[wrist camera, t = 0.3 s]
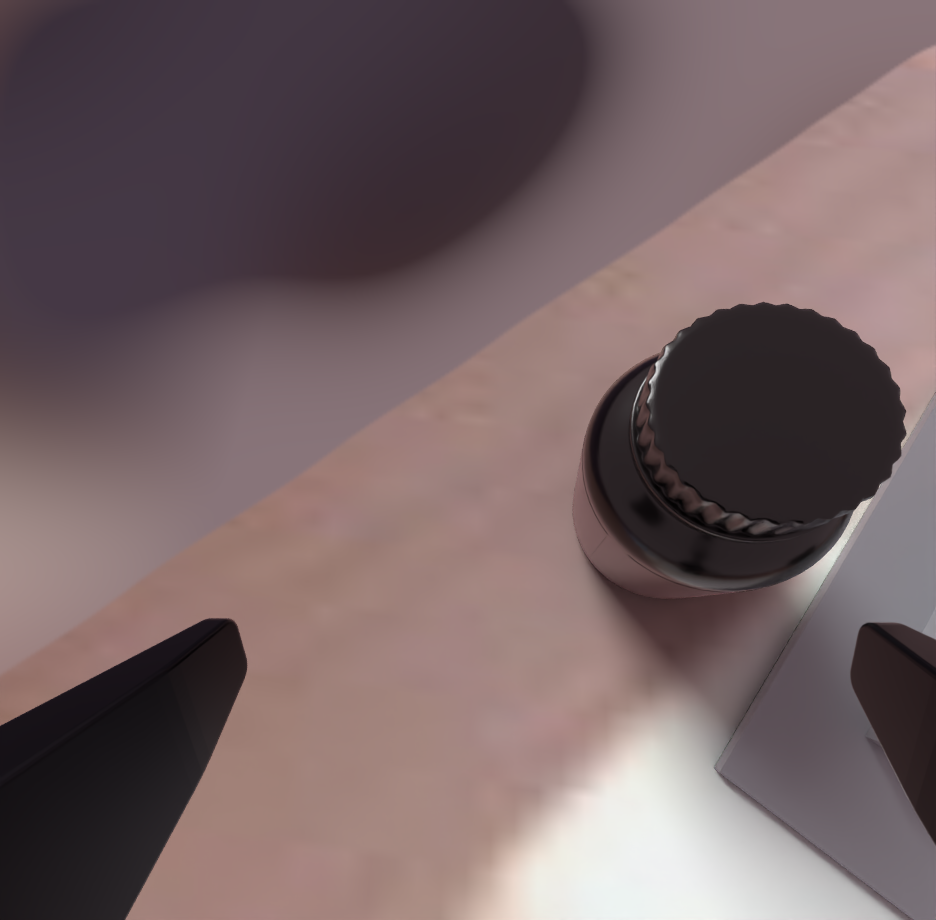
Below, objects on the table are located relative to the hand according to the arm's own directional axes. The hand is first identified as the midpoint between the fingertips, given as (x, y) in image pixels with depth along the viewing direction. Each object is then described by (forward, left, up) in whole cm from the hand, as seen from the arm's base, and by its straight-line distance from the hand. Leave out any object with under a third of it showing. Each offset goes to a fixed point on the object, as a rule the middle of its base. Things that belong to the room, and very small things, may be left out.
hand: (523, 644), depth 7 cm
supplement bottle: (+1, -6, -14) cm, 16 cm away
